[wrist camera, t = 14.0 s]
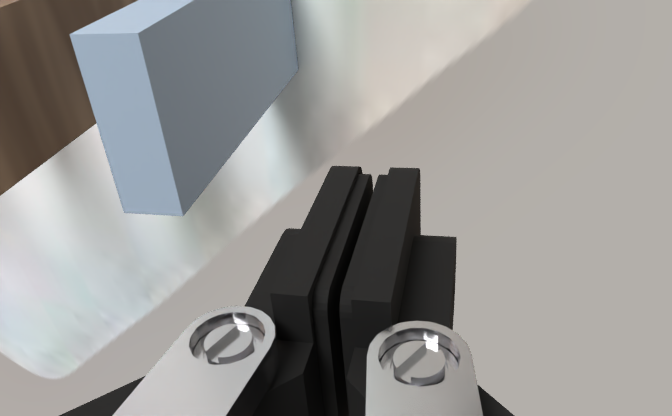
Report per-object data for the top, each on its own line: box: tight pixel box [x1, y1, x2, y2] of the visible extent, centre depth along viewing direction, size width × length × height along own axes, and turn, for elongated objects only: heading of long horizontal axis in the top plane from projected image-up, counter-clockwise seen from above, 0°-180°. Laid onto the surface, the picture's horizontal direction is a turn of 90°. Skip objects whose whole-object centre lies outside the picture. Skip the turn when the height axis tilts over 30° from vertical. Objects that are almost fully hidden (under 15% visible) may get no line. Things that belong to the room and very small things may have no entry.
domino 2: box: [69, 0, 298, 216], centre depth 20 cm, size 2×5×12 cm, turn 4°
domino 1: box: [0, 0, 138, 195], centre depth 22 cm, size 2×5×12 cm, turn 5°
